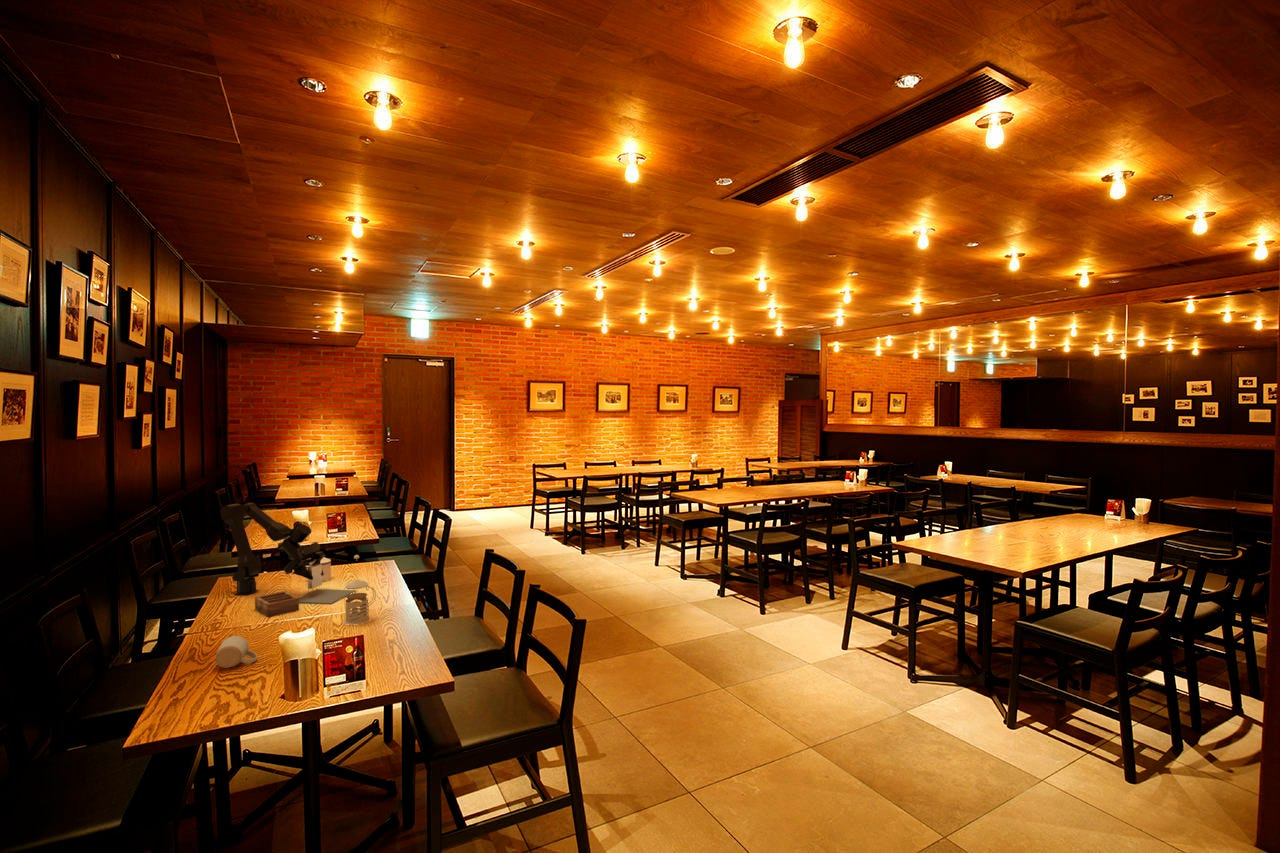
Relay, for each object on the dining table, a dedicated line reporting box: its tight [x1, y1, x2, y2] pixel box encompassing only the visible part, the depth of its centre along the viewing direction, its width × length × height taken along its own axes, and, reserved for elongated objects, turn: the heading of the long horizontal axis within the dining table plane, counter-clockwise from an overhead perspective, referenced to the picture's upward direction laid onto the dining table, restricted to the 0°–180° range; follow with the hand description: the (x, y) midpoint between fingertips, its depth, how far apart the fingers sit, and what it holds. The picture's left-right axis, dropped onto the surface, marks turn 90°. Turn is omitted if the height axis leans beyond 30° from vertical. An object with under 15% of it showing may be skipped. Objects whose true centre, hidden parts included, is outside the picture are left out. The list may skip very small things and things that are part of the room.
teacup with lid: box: [306, 556, 332, 583], centre depth 282 cm, size 12×9×12 cm
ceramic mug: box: [214, 635, 259, 669], centre depth 188 cm, size 11×8×8 cm
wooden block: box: [307, 564, 323, 590], centre depth 256 cm, size 2×6×9 cm, turn 171°
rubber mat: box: [298, 588, 357, 605], centre depth 257 cm, size 18×18×1 cm
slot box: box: [254, 590, 300, 618], centre depth 239 cm, size 14×11×5 cm
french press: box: [342, 554, 377, 626], centre depth 228 cm, size 10×12×25 cm
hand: (317, 577), depth 256 cm, fingers closed on wooden block, 6 cm apart
